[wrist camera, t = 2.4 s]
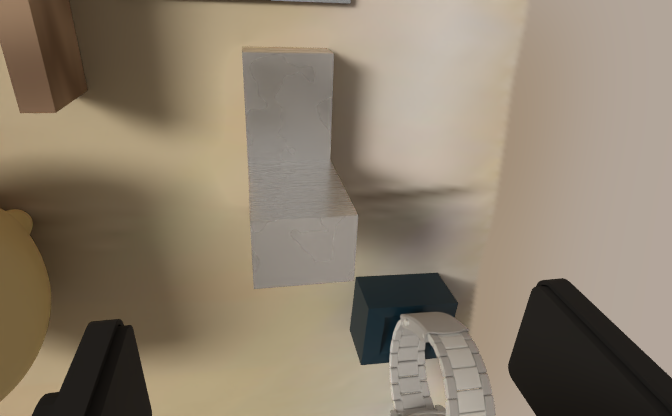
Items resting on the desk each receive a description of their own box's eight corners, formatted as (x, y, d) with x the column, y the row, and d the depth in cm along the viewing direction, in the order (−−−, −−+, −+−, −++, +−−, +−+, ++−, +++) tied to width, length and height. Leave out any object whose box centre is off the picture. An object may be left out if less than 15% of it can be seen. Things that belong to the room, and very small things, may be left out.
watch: (347, 352, 31) (396, 521, 21) (358, 253, 27) (424, 401, 17) (423, 345, 32) (503, 502, 22) (443, 249, 28) (549, 387, 19)
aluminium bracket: (322, 197, 25) (353, 280, 18) (250, 200, 24) (254, 289, 17) (326, 47, 21) (367, 79, 14) (242, 46, 21) (242, 78, 14)
